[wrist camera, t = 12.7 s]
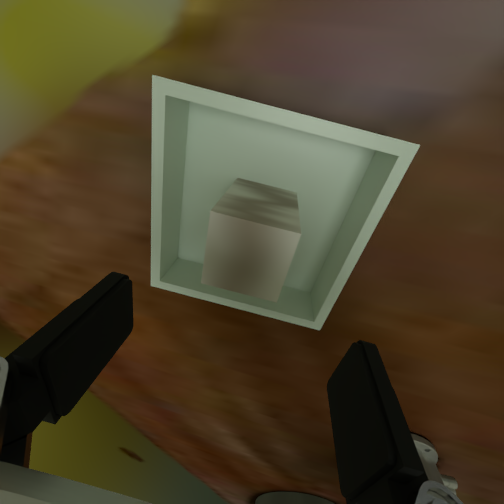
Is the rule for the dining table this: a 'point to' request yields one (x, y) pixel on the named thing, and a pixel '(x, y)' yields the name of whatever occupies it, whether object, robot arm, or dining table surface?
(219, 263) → the cream block
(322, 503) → the cake pan
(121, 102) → the dining table surface
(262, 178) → the sage bin
